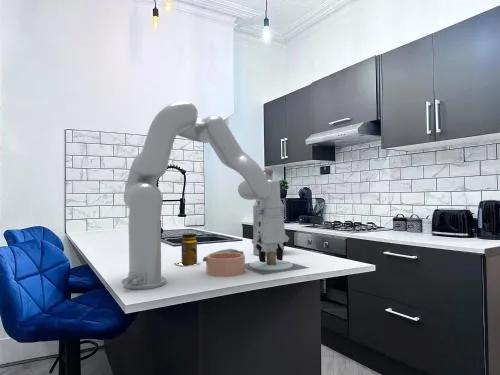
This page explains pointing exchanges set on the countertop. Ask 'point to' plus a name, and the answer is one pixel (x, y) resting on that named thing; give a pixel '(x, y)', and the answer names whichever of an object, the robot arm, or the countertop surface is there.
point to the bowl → (225, 264)
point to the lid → (271, 263)
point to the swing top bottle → (256, 216)
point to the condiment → (189, 249)
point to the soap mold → (226, 252)
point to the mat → (295, 267)
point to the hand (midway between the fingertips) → (271, 260)
